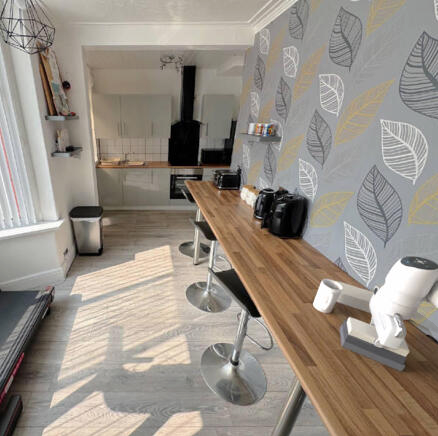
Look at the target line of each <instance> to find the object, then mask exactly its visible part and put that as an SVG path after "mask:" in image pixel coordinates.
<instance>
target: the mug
mask: <svg viewBox="0 0 438 436" xmlns="http://www.w3.org/2000/svg"><path fill="white" fill-rule="evenodd" d="M336 281H337V280H336ZM336 281H335V280H333V279H330V278H323V279H322V280H321V282H320V285H319V286H318V289H317V293H316V295H315V297H314V300H313V303H312V305H313V308H314V309H315V310H317V311H318V312H321V313H324V314H330V313H332V312H333V309H334V307H335V305H336V304H337V302H336V301H337V299H338V297H339V295H340V294H341V291H342V289H343V287H342V286H341V285H340V284H339V283H338V282H336Z"/></svg>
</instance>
